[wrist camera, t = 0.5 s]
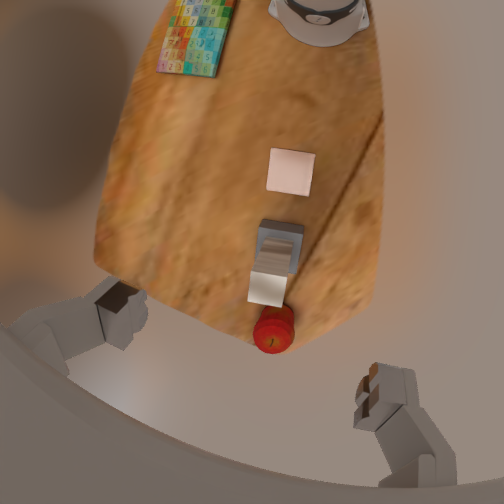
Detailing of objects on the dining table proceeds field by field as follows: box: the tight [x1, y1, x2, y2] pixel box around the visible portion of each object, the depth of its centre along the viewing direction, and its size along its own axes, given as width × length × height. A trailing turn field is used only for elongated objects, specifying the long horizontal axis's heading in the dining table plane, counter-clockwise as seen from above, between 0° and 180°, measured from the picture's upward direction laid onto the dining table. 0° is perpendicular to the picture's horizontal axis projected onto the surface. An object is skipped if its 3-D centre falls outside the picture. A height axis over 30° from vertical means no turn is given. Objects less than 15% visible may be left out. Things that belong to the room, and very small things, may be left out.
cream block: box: [248, 236, 293, 308], centre depth 47 cm, size 5×5×14 cm
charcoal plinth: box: [255, 219, 304, 274], centre depth 56 cm, size 8×8×5 cm
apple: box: [253, 305, 295, 354], centre depth 59 cm, size 9×8×12 cm
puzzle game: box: [156, 0, 236, 78], centre depth 42 cm, size 12×5×20 cm
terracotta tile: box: [266, 148, 315, 196], centre depth 52 cm, size 8×8×1 cm
